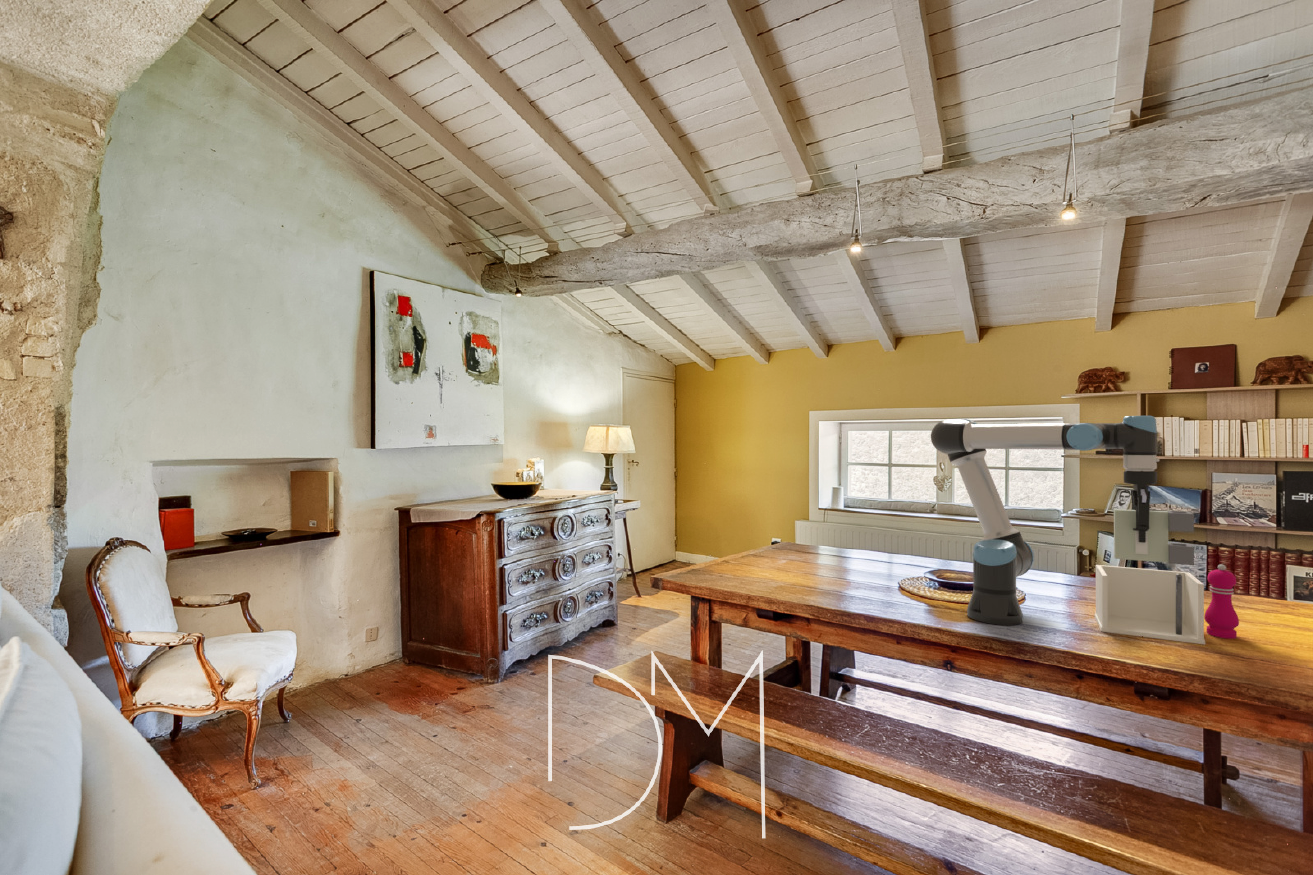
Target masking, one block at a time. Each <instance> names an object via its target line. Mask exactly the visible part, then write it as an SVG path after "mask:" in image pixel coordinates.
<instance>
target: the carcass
mask: <svg viewBox="0 0 1313 875" xmlns="http://www.w3.org/2000/svg"><path fill="white" fill-rule="evenodd" d="M1177 574H1180V575H1182V635H1178V634H1176V575H1177ZM1204 604H1205V584H1204V583H1203V582H1202V581H1200V580H1199V579H1197V577H1195V576H1194V575H1193V574H1192V573H1190V572H1188V571H1187V572H1185V571H1178V570H1177V571H1175V570H1163V569H1162V570H1161V569H1152V568H1151V569H1150V568H1139V567H1137V568H1136V567H1128V566H1126V567H1125V566H1116V565H1103V564H1102V565H1101V564H1095V612H1094V619H1095V621H1096V623H1097V625H1098V627H1099V629H1100V632H1103V633H1109V634H1110V633H1111V634H1117V635H1118V634H1119V635H1128V636H1133V637H1134V636H1136V637H1142V636H1143V638H1151V639H1159V640H1164V641H1165V640H1167V641H1175V642H1183V643H1188V644H1189V643H1190V644H1196V645H1197V644H1199V645H1206V639H1205V636H1204V635H1205V634H1204V632H1205V618H1204V617H1205V605H1204Z"/></svg>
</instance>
